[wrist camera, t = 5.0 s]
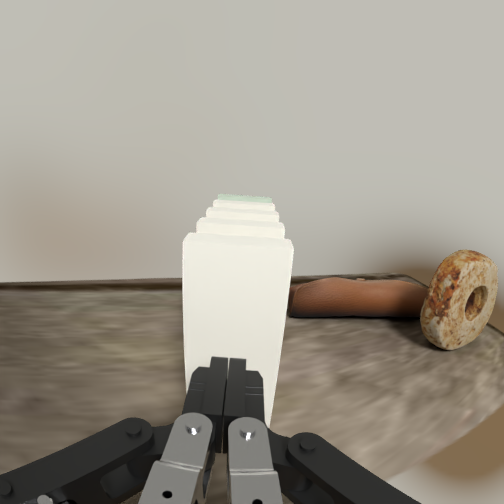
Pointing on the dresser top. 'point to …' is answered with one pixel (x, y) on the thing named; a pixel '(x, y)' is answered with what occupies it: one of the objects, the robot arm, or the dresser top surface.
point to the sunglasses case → (356, 298)
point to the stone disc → (459, 299)
